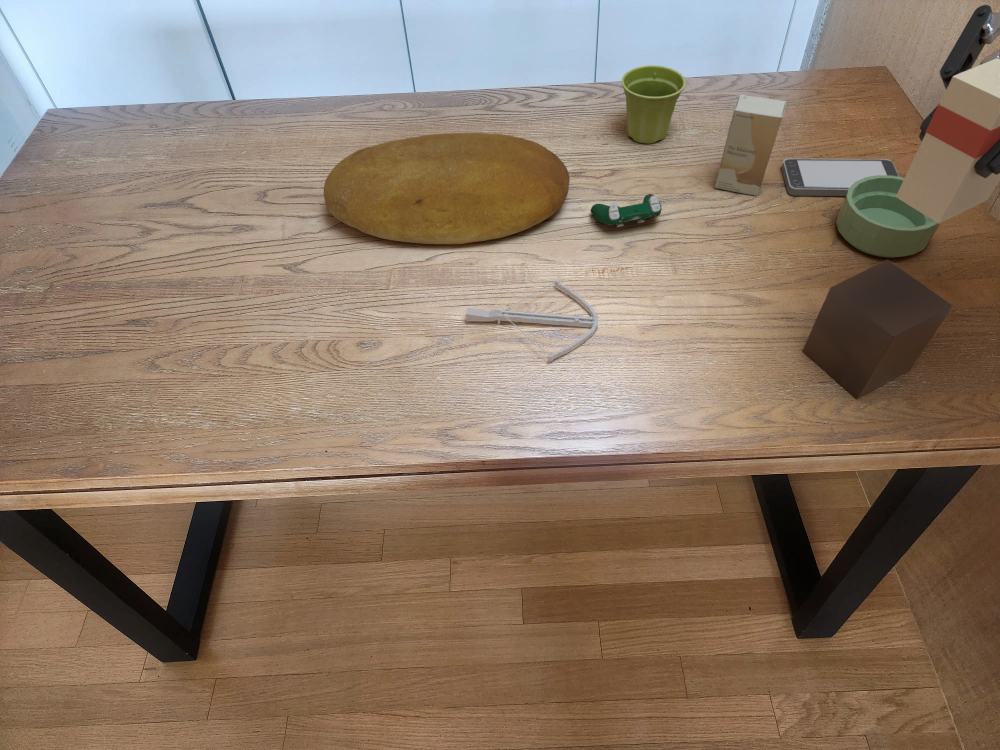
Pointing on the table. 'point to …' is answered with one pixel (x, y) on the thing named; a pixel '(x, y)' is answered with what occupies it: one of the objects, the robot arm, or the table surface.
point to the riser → (874, 327)
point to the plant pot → (651, 101)
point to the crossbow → (543, 319)
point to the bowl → (883, 219)
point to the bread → (447, 188)
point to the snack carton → (957, 147)
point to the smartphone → (831, 174)
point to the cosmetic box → (749, 143)
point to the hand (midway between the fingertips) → (952, 156)
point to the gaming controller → (627, 211)
